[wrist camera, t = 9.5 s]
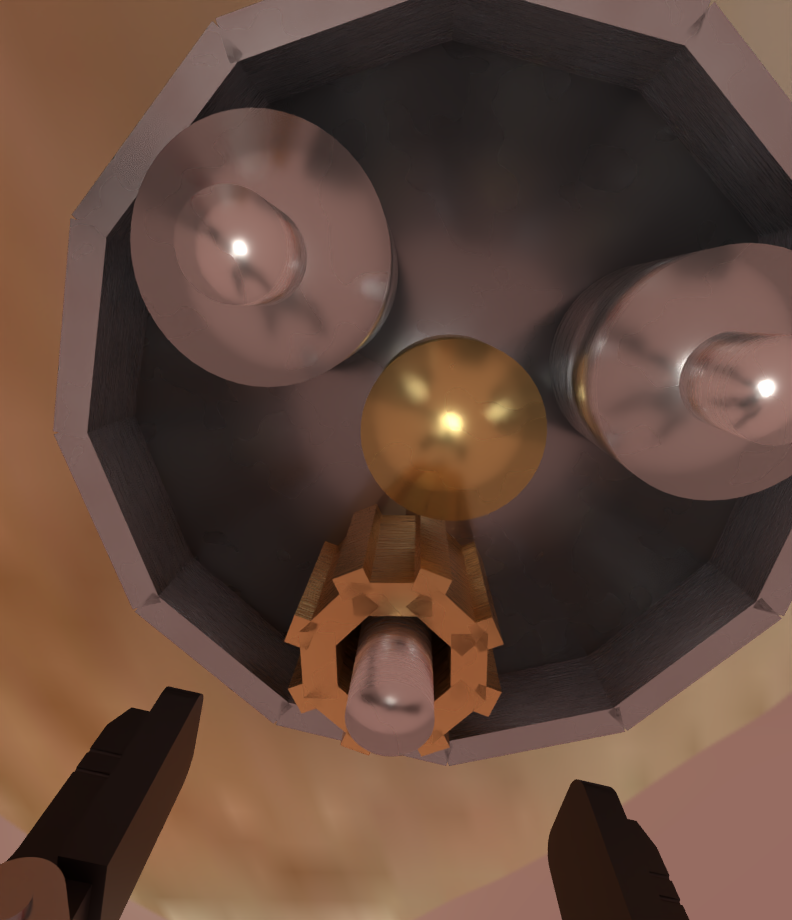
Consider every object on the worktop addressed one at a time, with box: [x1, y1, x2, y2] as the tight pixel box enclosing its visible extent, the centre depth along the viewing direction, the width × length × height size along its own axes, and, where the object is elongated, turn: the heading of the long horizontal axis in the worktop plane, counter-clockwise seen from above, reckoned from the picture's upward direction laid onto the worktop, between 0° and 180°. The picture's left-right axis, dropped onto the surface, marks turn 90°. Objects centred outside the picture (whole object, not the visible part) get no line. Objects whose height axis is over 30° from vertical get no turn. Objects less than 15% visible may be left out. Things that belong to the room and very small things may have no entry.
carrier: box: [53, 0, 792, 766], centre depth 15 cm, size 23×23×8 cm
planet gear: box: [284, 504, 504, 757], centre depth 18 cm, size 6×6×5 cm
